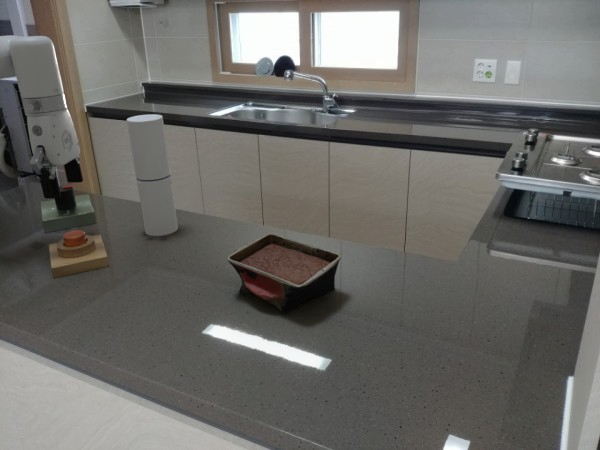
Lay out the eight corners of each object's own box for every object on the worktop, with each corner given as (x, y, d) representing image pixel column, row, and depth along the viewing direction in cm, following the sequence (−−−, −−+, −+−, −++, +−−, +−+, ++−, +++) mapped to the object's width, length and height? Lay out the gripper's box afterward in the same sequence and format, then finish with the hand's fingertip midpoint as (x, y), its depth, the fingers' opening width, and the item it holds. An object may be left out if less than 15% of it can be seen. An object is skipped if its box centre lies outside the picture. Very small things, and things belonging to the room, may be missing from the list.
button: (64, 242, 106) (62, 232, 106) (85, 237, 108) (83, 228, 107) (65, 249, 103) (63, 240, 102) (87, 245, 105) (85, 235, 104)
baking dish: (288, 338, 83) (296, 283, 79) (216, 286, 93) (219, 235, 89) (346, 306, 93) (356, 256, 89) (275, 262, 103) (281, 215, 99)
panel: (43, 213, 132) (40, 201, 131) (90, 205, 136) (88, 193, 135) (45, 233, 120) (42, 220, 119) (96, 223, 125) (94, 210, 123)
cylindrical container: (139, 235, 117) (119, 121, 107) (154, 222, 124) (137, 114, 114) (169, 237, 116) (152, 122, 106) (183, 224, 122) (168, 114, 112)
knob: (57, 211, 124) (52, 191, 123) (56, 205, 128) (51, 186, 126) (77, 207, 126) (72, 188, 124) (75, 201, 130) (71, 183, 128)
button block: (51, 254, 110) (46, 236, 109) (102, 243, 114) (98, 226, 112) (53, 278, 100) (49, 259, 98) (109, 266, 104) (105, 247, 102)
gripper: (40, 113, 94) (62, 204, 101) (83, 96, 110) (100, 176, 116) (0, 114, 95) (24, 205, 101) (48, 97, 110) (66, 177, 117)
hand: (64, 189), depth 109 cm, fingers open, 9 cm apart
